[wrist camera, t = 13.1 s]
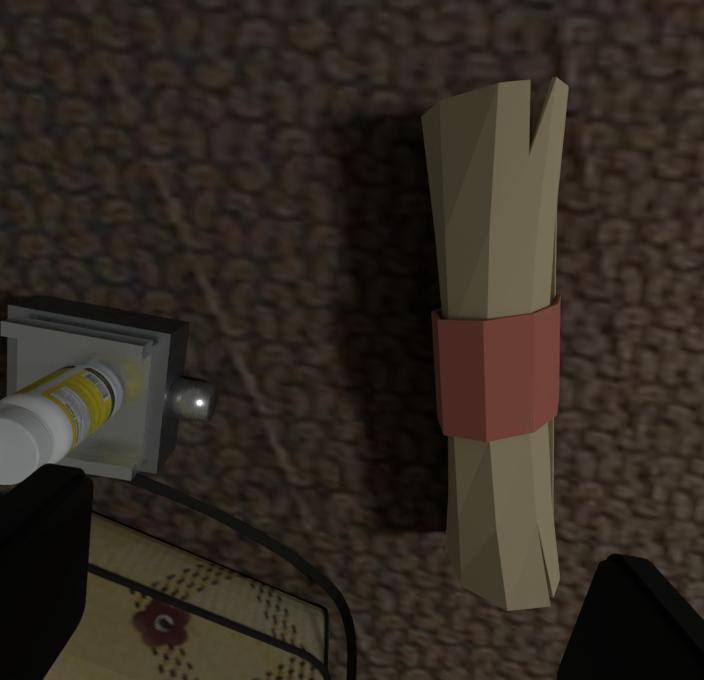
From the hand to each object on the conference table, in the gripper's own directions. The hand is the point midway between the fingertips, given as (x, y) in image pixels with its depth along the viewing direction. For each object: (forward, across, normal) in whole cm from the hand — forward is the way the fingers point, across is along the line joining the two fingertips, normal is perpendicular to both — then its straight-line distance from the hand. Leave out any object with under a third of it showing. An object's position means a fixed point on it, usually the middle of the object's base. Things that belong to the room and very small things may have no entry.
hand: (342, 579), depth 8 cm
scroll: (+29, -12, +1) cm, 31 cm away
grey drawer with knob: (+28, +16, +9) cm, 34 cm away
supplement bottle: (+24, +17, +9) cm, 31 cm away
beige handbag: (+29, +8, +23) cm, 38 cm away
